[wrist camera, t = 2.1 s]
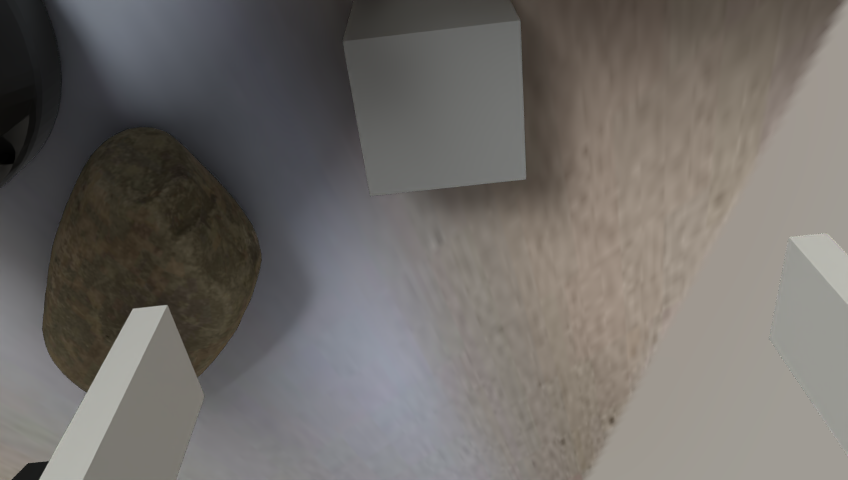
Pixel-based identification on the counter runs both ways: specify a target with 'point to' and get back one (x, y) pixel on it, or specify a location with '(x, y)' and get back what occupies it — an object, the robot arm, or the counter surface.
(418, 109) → the gray cube
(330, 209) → the counter surface
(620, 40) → the counter surface
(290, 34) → the counter surface
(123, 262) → the stone
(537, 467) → the counter surface
